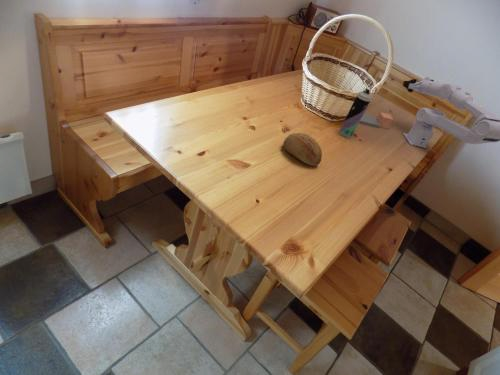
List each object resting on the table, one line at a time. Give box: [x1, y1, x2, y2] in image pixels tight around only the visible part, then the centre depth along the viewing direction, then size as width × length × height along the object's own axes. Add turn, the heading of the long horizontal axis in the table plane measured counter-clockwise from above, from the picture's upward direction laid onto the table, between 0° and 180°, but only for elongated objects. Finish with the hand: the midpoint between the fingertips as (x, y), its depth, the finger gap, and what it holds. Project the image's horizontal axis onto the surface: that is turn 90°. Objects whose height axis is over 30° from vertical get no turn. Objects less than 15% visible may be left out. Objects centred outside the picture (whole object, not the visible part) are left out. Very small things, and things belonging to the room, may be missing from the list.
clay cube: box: [376, 111, 394, 130], centre depth 148 cm, size 5×5×5 cm
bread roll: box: [282, 132, 323, 167], centre depth 108 cm, size 10×15×8 cm, turn 49°
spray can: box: [339, 87, 372, 139], centre depth 127 cm, size 6×6×20 cm
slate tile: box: [358, 112, 381, 129], centre depth 149 cm, size 10×10×1 cm
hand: (410, 83), depth 149 cm, fingers open, 7 cm apart
